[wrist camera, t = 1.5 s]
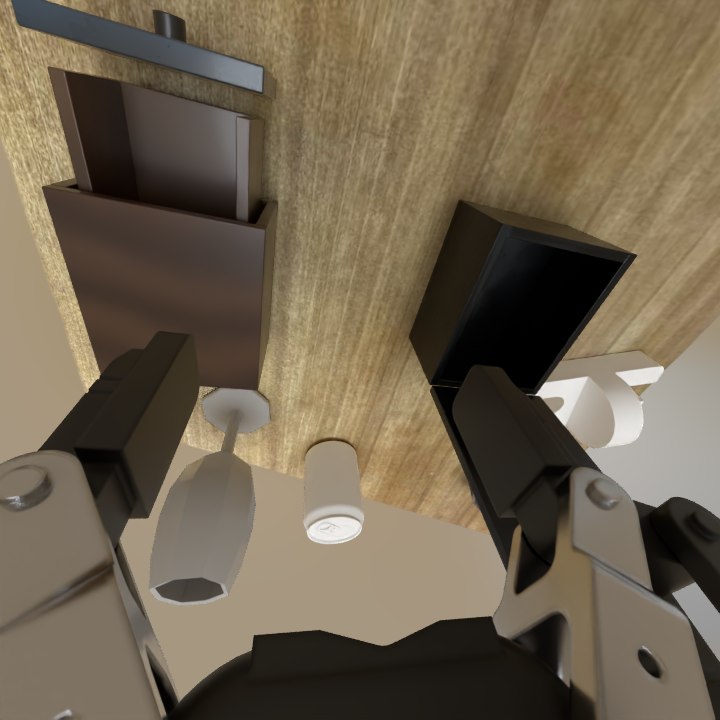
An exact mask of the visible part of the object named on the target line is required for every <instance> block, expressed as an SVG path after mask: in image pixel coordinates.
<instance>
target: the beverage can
mask: <svg viewBox="0 0 720 720" xmlns="http://www.w3.org/2000/svg"><path fill="white" fill-rule="evenodd" d="M363 521H364V510H363V502H362V494H361V486H360V478H359V470H358V462H357V455H356V451H355V450H354V448H353V447H352V446H350V445H349V444H347V443H344V442H340V441H327V442H322V443H319V444H317V445H315V446H313V447H312V448H311V449H310V450H309V451H308V452H307V453H306V456H305V477H304V517H303V522H304V527H305V529H306V531H307V536H308V537H309V538H310V539H311V540H312V541H314V542H317V543H322V544H337V543H342V542H346V541H349V540H351V539H353V538H355V537H356V536H358V535H359V534H360V532H361V530H362V524H363Z"/></svg>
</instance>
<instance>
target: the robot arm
mask: <svg viewBox="0 0 720 720" xmlns="http://www.w3.org/2000/svg"><path fill="white" fill-rule="evenodd" d="M199 386H200V379H199V370H198V362H197V354H196V345H195V339H194V336H193V335H192V334H185V333H175V332H166V331H158V332H157V333H156V334H155V335H154V337H153V338H152V339H151V341H150V342H149V343H148V345H147V346H146V348H145V349H134V348H133V349H131V350H129V351H128V352H126V353H124V354H123V355H121V356H119V357H118V358H116V359H114V360H113V361H112V362H111V363H110V364H109V365H108V367H107V368H106V369H105V370H104V371H103V373H102V374H101V375H100V378H99V379H97V380H96V381H95V382H94V384H93V385H92V386H91V387H90V388H89V392H88V393H85V394H84V396H83V397H82V398H81V399H80V401H79V402H78V403H77V404H76V405H75V407H74V408H73V409H72V410H71V411H70V413H69V414H68V415H67V416H66V418H65V419H64V420H63V421H62V423H61V424H60V425H59V426H58V427H57V428H56V430H55V431H54V432H53V433H52V434H51V436H50V437H49V438H48V439H47V441H46V442H45V443H44V444H43V445H42V447H41V448H40V449H39V450H38V451H37V452H32V453H27V454H24V455H21V456H18V457H15V458H13V459H10V460H8V461H6V462H4V463H1V464H0V720H720V662H719V661H718V659H717V658H716V656H715V655H714V653H713V652H712V650H711V649H710V648H709V646H708V645H707V643H706V642H705V641H704V639H703V638H702V636H701V635H700V633H699V632H698V630H697V629H696V628H695V626H694V625H693V623H692V622H691V620H690V619H689V618H688V616H687V615H686V613H685V612H684V610H683V609H682V608H681V606H680V605H679V603H678V602H677V600H676V599H675V598H674V596H673V595H672V593H673V592H675V591H678V590H680V589H682V588H684V587H686V586H688V585H690V584H692V583H694V582H696V583H697V584H698V586H699V587H700V588H701V590H702V591H703V592H704V594H705V595H706V596H707V598H708V599H709V600H710V602H711V603H712V604H713V605H714V607H715V608H716V609H717V610H718V612H719V613H720V519H719V518H718V517H716V516H715V515H714V514H712V513H711V512H710V511H708V510H707V509H705V508H704V507H702V506H700V505H699V504H697V503H695V502H693V501H690V500H688V499H685V498H681V497H673V498H670V499H669V500H668V501H666V502H664V503H663V504H662V505H660V506H659V507H657V508H656V507H653V506H650V505H646V504H644V503H640V502H637V501H634V500H632V499H631V497H630V496H629V495H628V494H627V492H626V491H625V490H624V489H623V488H622V487H621V486H620V485H619V484H618V483H616V482H615V481H614V480H612V479H611V478H610V477H608V476H606V475H605V474H603V473H601V472H599V471H597V470H594V469H592V468H587V467H581V466H580V465H579V463H578V462H577V461H576V459H575V458H574V457H573V455H572V454H571V453H570V451H569V450H568V449H567V447H566V446H565V445H564V443H563V442H562V441H561V439H560V438H559V437H558V435H557V434H556V433H555V431H554V430H553V429H552V427H551V426H550V425H549V424H547V423H546V419H545V418H544V417H543V415H542V414H541V413H540V412H538V409H537V407H536V406H535V405H534V403H533V402H532V401H531V399H530V398H529V397H528V396H527V395H526V394H525V393H524V392H522V391H521V390H520V389H519V388H518V387H516V386H515V385H514V384H513V382H512V381H511V380H510V378H509V377H508V376H507V374H506V373H505V371H504V370H503V369H502V368H500V367H495V366H485V365H474V366H473V367H472V368H471V369H470V371H469V372H468V374H467V376H466V378H465V380H464V382H463V384H462V386H461V388H460V390H459V392H458V394H457V395H456V397H455V399H454V402H453V408H452V412H453V418H454V421H455V423H456V425H457V427H458V429H459V432H460V434H461V436H462V438H463V441H464V443H465V445H466V447H467V449H468V452H469V454H470V456H471V458H472V460H473V463H474V465H475V467H476V469H477V472H478V474H479V476H480V478H481V480H482V483H483V485H484V487H485V489H486V492H487V494H488V496H489V498H490V500H491V503H492V505H493V507H494V509H495V511H496V514H497V516H498V518H506V517H516V518H517V520H518V522H519V525H518V526H517V527H516V528H515V530H514V533H513V539H512V545H511V551H510V557H509V563H508V569H507V575H506V581H505V587H504V593H503V597H502V600H501V603H500V605H499V607H498V609H497V610H496V612H495V613H494V615H493V617H491V616H489V617H476V618H464V619H451V620H440V621H438V622H436V623H434V624H432V625H429V626H427V627H425V628H423V629H422V630H419V631H417V632H415V633H413V634H411V635H409V636H407V637H405V638H403V639H401V640H399V641H397V642H394V643H393V644H390V645H387V646H380V645H375V644H371V643H367V642H364V641H360V640H356V639H352V638H348V637H344V636H341V635H336V634H333V633H329V632H325V631H321V630H315V631H302V632H289V633H276V634H265V635H254V638H253V647H252V650H251V651H249V652H247V653H245V654H242V655H240V656H238V657H236V658H234V659H232V660H231V661H229V662H227V663H226V664H224V665H222V666H221V667H219V668H218V669H217V670H215V671H214V672H212V673H211V674H210V675H209V676H207V677H206V678H205V679H203V680H202V681H201V682H200V683H199V684H197V685H196V686H195V687H194V688H193V689H192V690H191V691H190V692H189V693H188V694H187V695H186V696H185V697H184V698H183V699H182V700H181V701H180V698H179V695H178V693H177V690H176V687H175V684H174V682H173V679H172V676H171V673H170V671H169V668H168V665H167V663H166V660H165V657H164V655H163V652H162V650H161V647H160V645H159V643H158V640H157V638H156V636H155V634H154V631H153V629H152V626H151V624H150V621H149V618H148V616H147V613H146V610H145V608H144V605H143V602H142V599H141V597H140V594H139V591H138V588H137V586H136V583H135V580H134V577H133V575H132V572H131V569H130V566H129V564H128V561H127V558H126V555H125V553H124V550H123V547H122V544H121V542H120V536H121V534H122V532H123V530H124V528H125V526H126V523H127V521H128V519H132V518H133V519H134V518H148V517H149V515H150V513H151V510H152V508H153V505H154V503H155V501H156V498H157V496H158V493H159V491H160V488H161V486H162V484H163V481H164V479H165V476H166V474H167V472H168V469H169V467H170V464H171V462H172V459H173V457H174V454H175V452H176V450H177V447H178V445H179V443H180V440H181V438H182V435H183V433H184V431H185V428H186V426H187V423H188V421H189V419H190V416H191V414H192V411H193V409H194V406H195V404H196V401H197V398H198V394H199Z"/></svg>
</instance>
